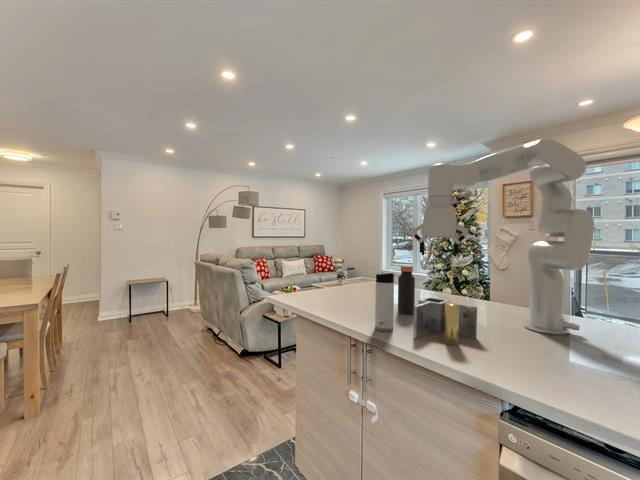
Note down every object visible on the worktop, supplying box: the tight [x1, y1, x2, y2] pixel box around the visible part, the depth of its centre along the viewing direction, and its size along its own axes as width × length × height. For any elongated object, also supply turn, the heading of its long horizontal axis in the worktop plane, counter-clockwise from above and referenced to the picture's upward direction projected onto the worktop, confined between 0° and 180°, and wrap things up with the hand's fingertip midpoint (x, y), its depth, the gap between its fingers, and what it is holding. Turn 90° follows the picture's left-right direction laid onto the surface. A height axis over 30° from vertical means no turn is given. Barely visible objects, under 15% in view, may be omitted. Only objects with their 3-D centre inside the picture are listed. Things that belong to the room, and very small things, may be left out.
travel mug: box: [374, 272, 395, 333], centre depth 106 cm, size 6×7×20 cm
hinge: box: [412, 296, 478, 340], centre depth 100 cm, size 18×18×10 cm
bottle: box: [397, 264, 416, 316], centre depth 129 cm, size 7×7×20 cm
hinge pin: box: [443, 302, 460, 347], centre depth 93 cm, size 4×4×12 cm
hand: (438, 255), depth 99 cm, fingers open, 9 cm apart
